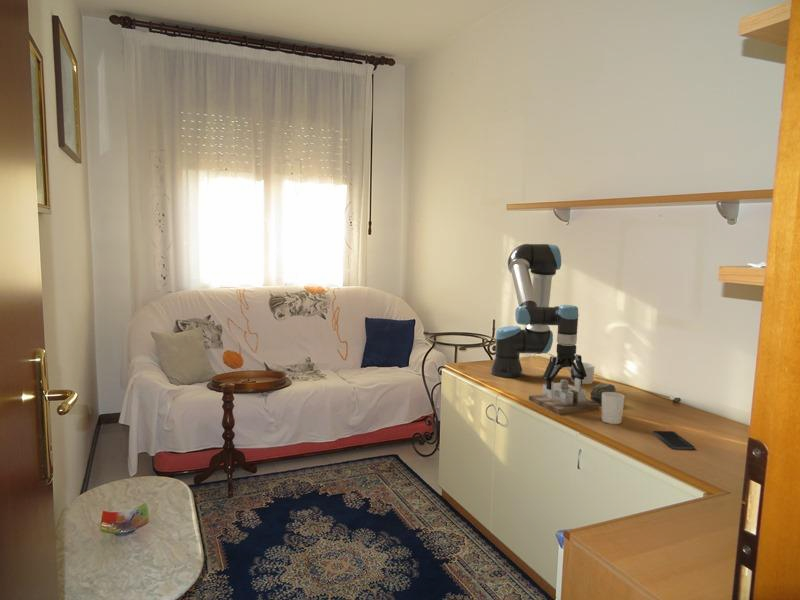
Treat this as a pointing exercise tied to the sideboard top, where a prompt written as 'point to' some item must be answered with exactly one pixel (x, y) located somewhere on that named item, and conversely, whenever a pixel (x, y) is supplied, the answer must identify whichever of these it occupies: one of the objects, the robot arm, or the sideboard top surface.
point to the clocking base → (563, 409)
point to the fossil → (599, 389)
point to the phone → (673, 440)
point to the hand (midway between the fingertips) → (563, 395)
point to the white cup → (612, 407)
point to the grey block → (566, 395)
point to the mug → (589, 372)
